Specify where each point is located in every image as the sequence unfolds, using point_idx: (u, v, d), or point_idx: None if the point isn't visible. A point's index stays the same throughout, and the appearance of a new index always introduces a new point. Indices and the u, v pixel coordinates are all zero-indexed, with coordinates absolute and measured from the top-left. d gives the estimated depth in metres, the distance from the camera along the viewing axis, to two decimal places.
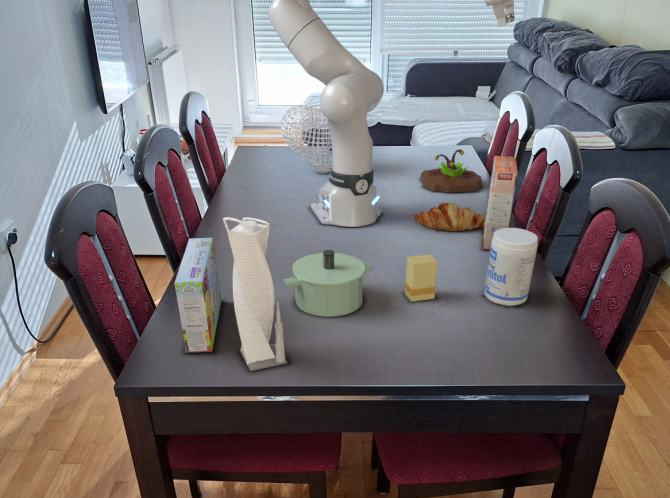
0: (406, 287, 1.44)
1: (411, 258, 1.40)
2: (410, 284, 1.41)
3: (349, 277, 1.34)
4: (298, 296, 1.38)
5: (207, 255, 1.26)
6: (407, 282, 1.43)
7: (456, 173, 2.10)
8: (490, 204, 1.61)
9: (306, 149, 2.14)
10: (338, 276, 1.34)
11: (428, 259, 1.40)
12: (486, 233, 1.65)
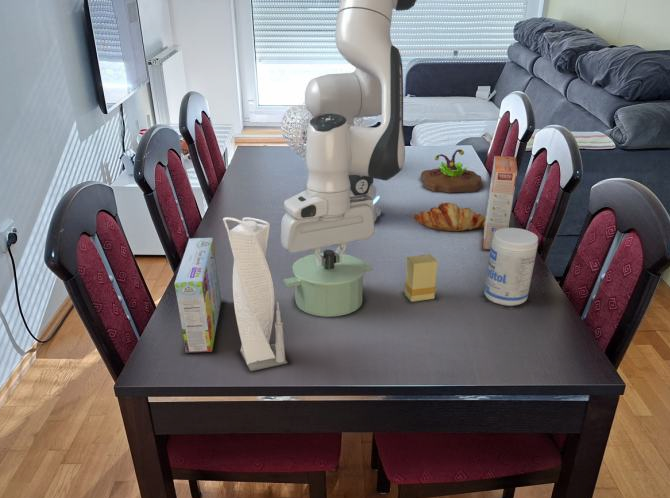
0: (406, 287, 1.44)
1: (411, 258, 1.40)
2: (410, 284, 1.41)
3: (349, 277, 1.34)
4: (298, 296, 1.38)
5: (207, 255, 1.26)
6: (407, 282, 1.43)
7: (456, 173, 2.10)
8: (490, 204, 1.61)
9: None
10: (338, 276, 1.34)
11: (428, 259, 1.40)
12: (486, 233, 1.65)
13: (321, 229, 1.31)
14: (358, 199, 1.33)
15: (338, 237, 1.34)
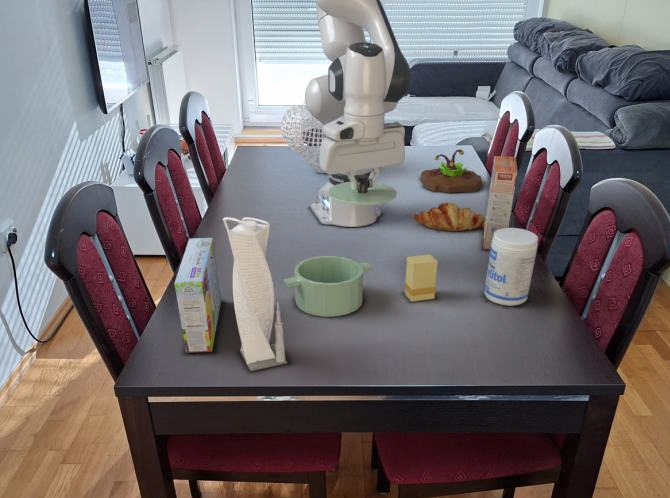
0: (406, 287, 1.44)
1: (411, 258, 1.40)
2: (410, 284, 1.41)
3: (383, 199, 1.44)
4: (298, 296, 1.38)
5: (207, 255, 1.26)
6: (407, 282, 1.43)
7: (456, 173, 2.10)
8: (490, 204, 1.61)
9: (306, 149, 2.14)
10: (372, 198, 1.45)
11: (428, 259, 1.40)
12: (486, 233, 1.65)
13: (357, 153, 1.42)
14: (391, 126, 1.44)
15: (372, 161, 1.44)
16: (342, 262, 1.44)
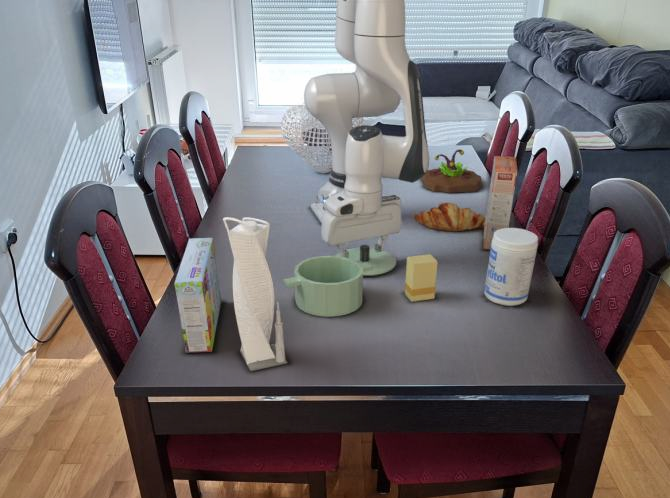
0: (406, 287, 1.44)
1: (411, 258, 1.40)
2: (410, 284, 1.41)
3: (383, 268, 1.54)
4: (298, 296, 1.38)
5: (207, 255, 1.26)
6: (407, 282, 1.43)
7: (456, 173, 2.10)
8: (490, 204, 1.61)
9: (306, 149, 2.14)
10: (373, 267, 1.55)
11: (428, 259, 1.40)
12: (486, 233, 1.65)
13: (356, 224, 1.52)
14: (388, 199, 1.53)
15: (370, 232, 1.54)
16: (342, 262, 1.44)
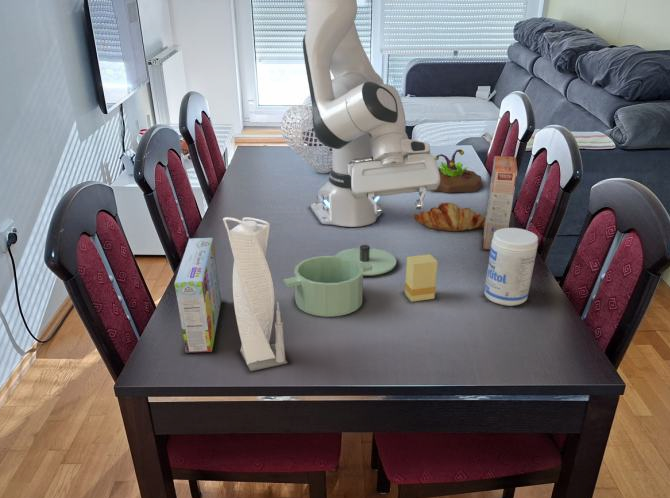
0: (406, 287, 1.44)
1: (411, 258, 1.40)
2: (410, 284, 1.41)
3: (383, 268, 1.54)
4: (298, 296, 1.38)
5: (207, 255, 1.26)
6: (407, 282, 1.43)
7: (456, 173, 2.10)
8: (490, 204, 1.61)
9: (306, 149, 2.14)
10: (373, 267, 1.55)
11: (428, 259, 1.40)
12: (486, 233, 1.65)
13: None
14: None
15: None
16: (342, 262, 1.44)
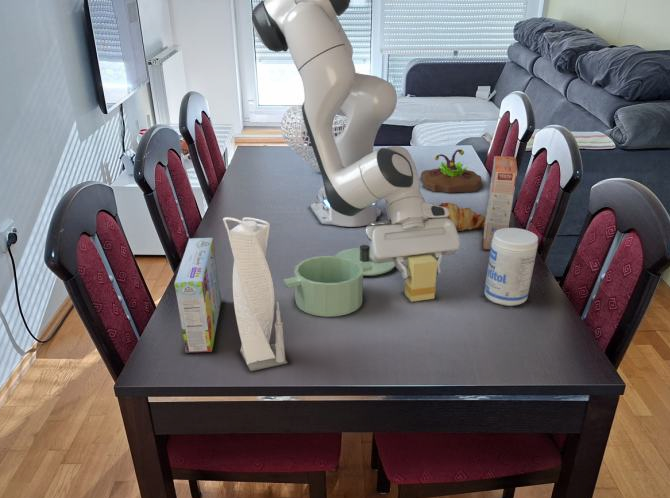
0: (406, 287, 1.44)
1: (411, 258, 1.40)
2: (410, 285, 1.41)
3: (383, 268, 1.54)
4: (298, 296, 1.38)
5: (207, 255, 1.26)
6: (406, 282, 1.43)
7: (456, 173, 2.10)
8: (490, 204, 1.61)
9: (306, 149, 2.14)
10: (373, 267, 1.55)
11: (428, 259, 1.40)
12: (486, 233, 1.65)
13: None
14: None
15: None
16: (342, 262, 1.44)
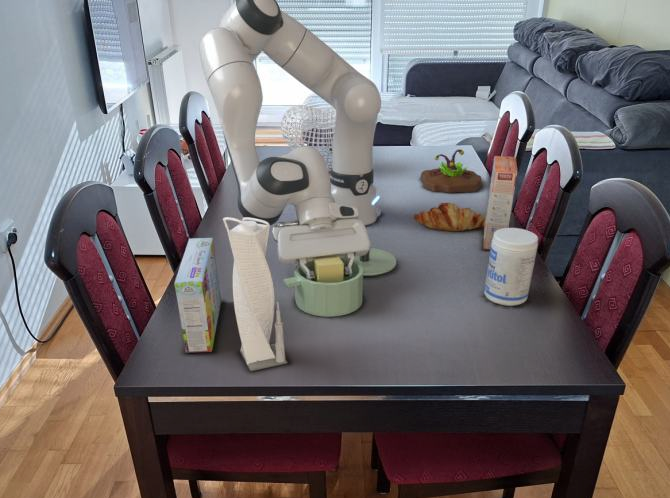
0: None
1: (317, 260, 1.38)
2: None
3: (383, 268, 1.54)
4: (298, 296, 1.38)
5: (207, 255, 1.26)
6: None
7: (456, 173, 2.10)
8: (490, 204, 1.61)
9: None
10: (373, 267, 1.55)
11: (335, 261, 1.37)
12: (486, 233, 1.65)
13: None
14: None
15: None
16: None
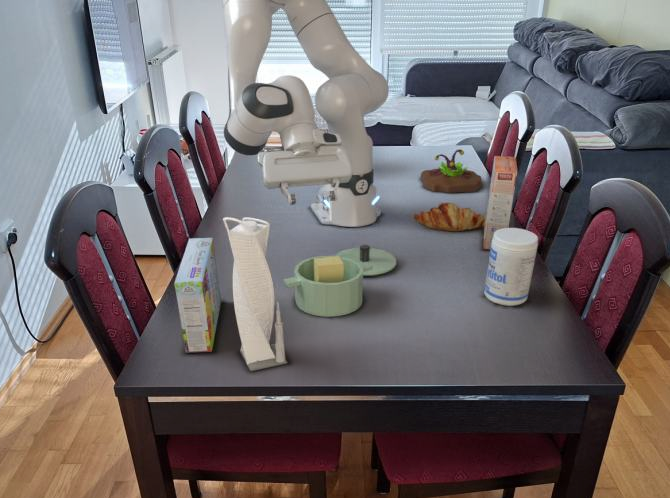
0: None
1: (317, 260, 1.38)
2: None
3: (383, 268, 1.54)
4: (298, 296, 1.38)
5: (207, 255, 1.26)
6: None
7: (456, 173, 2.10)
8: (490, 204, 1.61)
9: None
10: (373, 267, 1.55)
11: (335, 261, 1.37)
12: (486, 233, 1.65)
13: None
14: None
15: None
16: None
